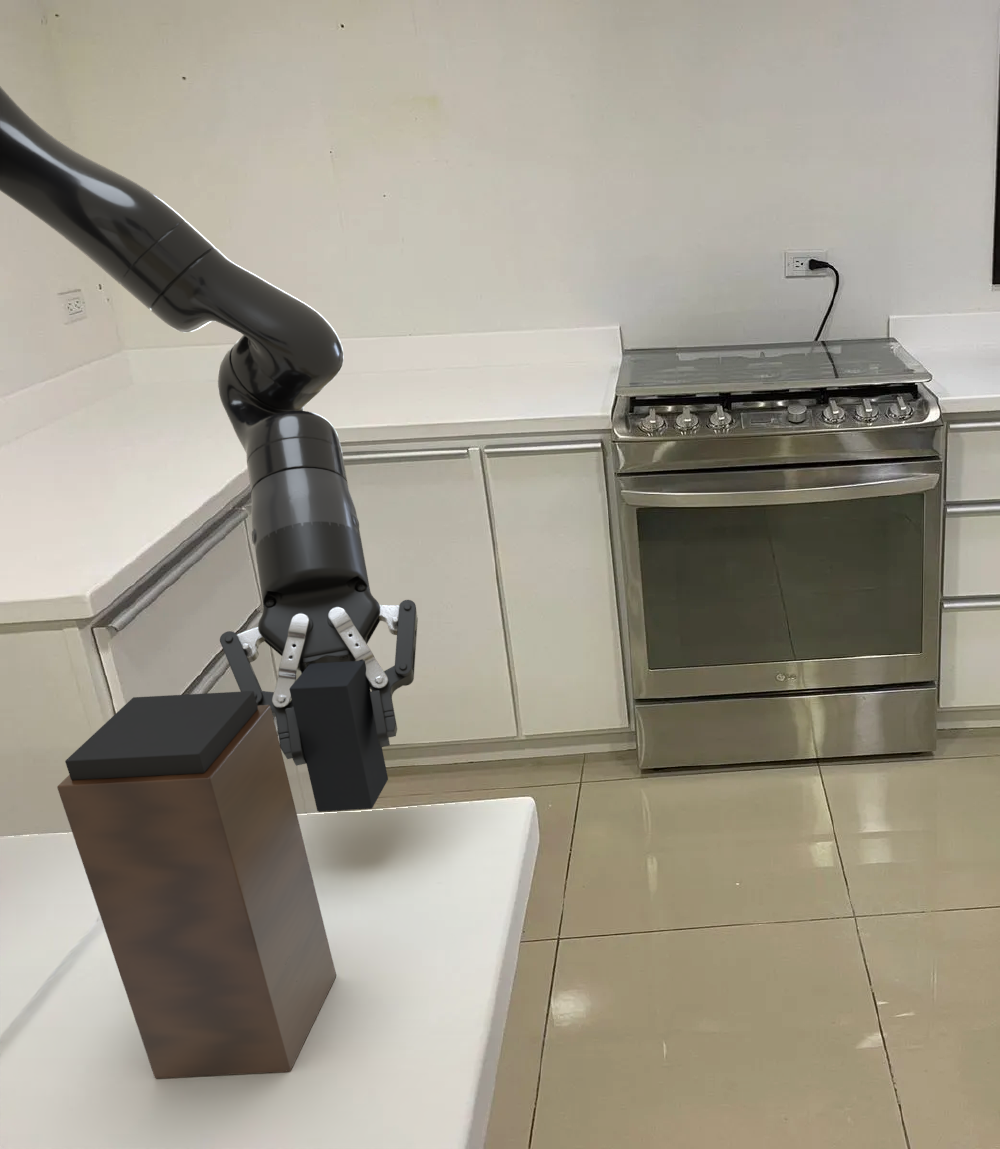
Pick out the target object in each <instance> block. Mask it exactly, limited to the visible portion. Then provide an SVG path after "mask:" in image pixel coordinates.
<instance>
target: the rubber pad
mask: <svg viewBox="0 0 1000 1149" xmlns="http://www.w3.org/2000/svg"><path fill="white" fill-rule="evenodd" d="M257 709H258V706H257V702H256V698H255V694H254V691H243V692H241V691H225V692H208V693H207V692H206V693H190V694H188V693H187V694H171V695H152V696H151V695H150V696H133V697H132V698H131V699H130V700H128V702H126V704H124V705H123V706H122V707H121V708H120V709H119V710H118V711H117V712H116V713H115V714H113V716H111V718H109V719H108V720H107V721H106V722H105V723H104V724H103V725H102V726H101V727H100V728H98V729H97V730H96V731H95V732H94V733H93V734H92V735H91V736H90V737H89V738H88V739H87V740H86V741H85V742H83V743H82V744H81V745H80V747H78V748H77V749H76V750H75V751H74V752H73V753H72V754H71V755H70V756H69V757H68V758H67V759H65V761H64V762H65V766H66V768H67V771H68V776H69V775H70V778H71V780H86V779H105V778H124V777H142V776H161V775H180V774H199V773H205V772H206V770H207V769H208V768H209V767H210V766H211V764H212V763H213V762H214V761H215V760H216V758H217V757H218V756H219V755H220V754H221V752H222V751H223V750H224V749H225V748H226V746H227V745H228V744H229V743H230V742H231V740H232V739H233V738H234V737H235V736H236V735H237V733H238V732H239V731H240V730H241V729H242V727H243V726H244V725H245V724H246V723H247V721H248V720H249V719H250V718H251V717H252V715H253V714H254V713H255V712H256V711H257Z"/></svg>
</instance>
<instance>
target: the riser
mask: <svg viewBox="0 0 1000 1149" xmlns="http://www.w3.org/2000/svg"><path fill="white" fill-rule="evenodd" d="M284 760H285V759H284V756H283V752H282V750H281V748H280V742H279V734H278V730H277V728H276V724H275V720H274V715H272V711H271V707H270V705H259V706H258V709H257V711H256V712H255V713H254V714H253V715H252V717H251V718H250V719H249V720H248V721H247V723H246V724H245V725H244V726H243V727H242V729H241V730H240V731H239V732H238V733H237V735H236V736H235V737H234V738H233V739H232V740H231V742H230V743H229V744H228V745H227V746H226V748H225V749H224V750H223V751H222V752H221V754H220V755H219V756H218V757H217V758H216V760H215V761H214V762H213V763H212V764H211V766H210V767H209V768H208V769H207V770H206V772H205V773H199V774H180V775H161V776H142V777H124V778H105V779H86V780H71V778H70V775H69V774H68V775H67V776H66V777H65V778H64V779H63V780H62V781H61V782H60V783H59V784H57V786H56V788H57V791H58V794H59V797H60V800H61V803H62V806H63V810H64V813H65V815H66V819H67V821H68V824H69V827H70V830H71V833H72V836H73V839H74V841H75V842H74V843H75V846H76V848H77V851H78V854H79V856H80V860H81V863H82V865H83V869H84V871H85V874H86V878H87V880H88V883H89V887H90V889H91V892H92V895H93V898H94V901H95V905H96V907H97V909H98V914H99V917H100V919H101V922H102V926H103V928H104V932H105V935H106V937H107V940H108V943H109V946H110V950H111V952H112V955H113V958H114V961H115V963H116V967H117V970H118V973H119V976H120V979H121V982H122V984H123V985H122V986H123V988H124V990H125V991H124V992H125V993H126V996H127V999H128V1002H129V1005H130V1008H131V1011H132V1015H133V1017H134V1021H135V1023H136V1027H137V1029H138V1032H139V1035H140V1038H141V1041H142V1044H143V1047H144V1050H145V1053H146V1057H147V1059H148V1063H149V1065H150V1068H151V1071H152V1074H153V1077H154V1079H168V1078H187V1077H207V1076H226V1075H227V1076H228V1075H243V1074H245V1075H246V1074H247V1075H248V1074H263V1073H279V1072H280V1073H283V1072H284V1073H285V1072H291V1071H292V1069H293V1067H294V1064H295V1063H296V1060H297V1058H298V1056H299V1054H300V1052H301V1050H302V1048H303V1045H304V1044H305V1042H306V1040H307V1037H308V1035H309V1034H310V1032H311V1029H312V1027H313V1025H314V1023H315V1021H316V1019H317V1017H318V1016H319V1012H320V1010H321V1008H322V1006H323V1004H324V1002H325V1000H326V998H327V996H328V994H329V992H330V989H331V987H332V986H333V984H334V982H335V979H336V977H337V972H336V968H335V964H334V960H333V955H332V952H331V948H330V943H329V939H328V935H327V932H326V927H325V924H324V919H323V915H322V911H321V908H320V907H321V906H320V903H319V898H318V894H317V891H316V890H317V889H316V886H315V883H314V878H313V875H312V870H311V866H310V862H309V858H308V854H307V850H306V845H305V841H304V838H303V834H302V829H301V826H300V821H299V817H298V814H297V810H296V805H295V801H294V797H293V792H292V789H291V785H290V780H289V777H288V773H287V768H286V765H285V761H284Z"/></svg>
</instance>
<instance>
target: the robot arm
mask: <svg viewBox="0 0 1000 1149" xmlns="http://www.w3.org/2000/svg"><path fill="white" fill-rule="evenodd" d="M0 192H1V193H3V194H4V195H5V196H7V197H8V198H9V199H11V200H12V201H14V202H15V203H17V204H18V205H19V206H21V207H23V208H24V209H25V210H27V211H28V212H30V213H31V214H32V215H34V216H35V217H37V219H39V220H40V221H42V222H43V223H44V224H46V225H47V226H49V228H51V229H53V230H54V231H55V232H56V233H58V234H59V235H60V236H62V237H63V238H64V239H65V240H67V241H68V242H69V243H70V244H72V245H73V246H74V247H75V248H76V249H78V250H79V251H80V252H82V253H83V254H84V255H85V256H87V258H89V259H90V260H91V261H92V262H94V263H95V265H96V266H98V267H99V268H101V269H102V270H103V271H104V272H105V273H106V274H107V275H109V276H110V277H111V278H112V279H113V280H114V281H115V282H117V283H118V284H119V285H120V286H121V287H122V288H123V289H125V290H126V291H127V292H128V293H129V294H130V295H132V296H133V297H134V298H136V300H137V301H139V302H140V303H141V304H142V305H143V306H144V307H146V309H148V310H150V311H151V313H153V314H154V315H155V316H156V317H157V318H158V319H160V320H161V321H162V322H163V323H165V324H166V325H167V326H169V327H170V328H172V329H173V330H176V331H178V332H181V333H191V332H195V331H197V330H200V329H201V328H203V327H205V326H206V325H208V324H209V323H213V322H215V323H218V324H221V325H223V326H226V327H227V328H230V329H232V330H234V331H236V332H238V333H240V334H242V336H241V337H240V338H239V339H238V340H237V341H236V342H235V343H234V344H233V345H232V346H231V347H230V348H229V350H227V351H226V353H225V354H224V356H223V358H222V359H221V362H220V363H219V368H218V373H217V374H218V375H217V389H218V390H217V391H218V395H219V399H220V401H221V404H222V408H224V409H223V410H224V411H225V413H226V415H227V417H228V420H229V422H230V424H231V426H232V429H233V431H234V432H235V435H236V437H237V439H238V441H239V442H240V445H241V447H242V448H243V450H244V451H245V455H246V465H247V472H248V479H249V486H250V493H251V511H250V512H251V515H250V516H251V517H250V518H251V519H250V520H251V528H252V530H251V540H252V544H253V546H254V550H255V558H256V566H257V572H258V573H257V574H258V581H259V587H260V594H261V602H262V614H261V617H260V619H259V620H258V623H257V626H254V627H252V628H250V629H247V630H244V631H242V632H239V633H236V632H234V631H229V630H228V631H225V632H223V633H222V634H221V635H220V637H219V643H220V645H221V647H222V650H223V652H224V655H225V657H226V660H227V662H228V665H229V667H230V670H231V671H232V674H233V677H234V679H235V681H236V684H237V686H238V688H239V692H243V691H254V694H255V698H256V702H257V706H259V705H270V707H271V711H272V715H273V717H275V720H276V726H277V728H276V729H277V735H278V740H279V744H280V748H281V752H282V754H283V755H284V757H285V758H286V760H291V759H292V761H293V763H294V766H301V765H307V764H306V758H305V754H304V750H303V745H302V741H301V737H300V732H299V728H298V724H297V720H296V716H295V711H294V707H293V703H292V698H291V694H290V687H291V686H292V685H293V684H294V682H295V681H296V680H297V679H298V677H299V676H300V675H301V674H302V673H303V671H304V670H305V669H306V668H307V666H308V665H309V664H310V663H328V662H348V661H365V665H366V677H367V679H368V681H369V685H370V690H371V692H370V697H371V703H372V709H373V715H374V720H375V726H376V732H377V738H378V742H379V746H380V747H382V748H384V747H389V746H391V743H390V742H391V741H390V738H393V737H394V738H395V737H396V736H397V733H398V725H397V719H396V714H395V708H394V703H393V702H394V701H393V695H394V693H395V692H396V690H398V689H400V688H403V687H406V686H410V685H411V684H412V683H413V682H414V680H415V667H416V651H417V636H418V620H419V618H418V612H417V605H416V603H415V602H414V601H413V600H411V599H405V600H402V601H401V602H399V604H398V605H397V604H380V603H379V602H378V600H377V599H376V598H375V597H374V596H373V594H372V593H371V588H370V581H369V575H368V571H367V570H368V569H367V566H366V560H365V554H364V549H363V542H362V537H361V531H360V522H359V518H358V514H357V511H356V506H355V503H354V500H353V497H352V494H351V492H350V488H349V484H348V478H347V472H346V466H345V460H344V456H343V451H342V446H341V441H340V438H339V435H338V433H337V430H336V429H335V427H334V425H333V424H332V423H331V422H330V421H329V420H328V419H327V418H325V417H323V416H322V415H320V414H318V413H315V412H311V411H308V410H307V411H306V410H304V408H305V406H307V404H309V403H310V402H311V401H312V400H313V399H314V398H315V397H316V396H317V395H318V394H319V393H320V392H321V391H322V390H323V389H324V388H325V387H326V386H327V385H328V384H329V383H331V382H332V381H333V380H334V379H335V378H336V376H337V375H338V374H339V373H340V371H341V370H342V368H343V365H344V358H345V357H344V348H343V345H342V342H341V340H340V337H339V336H338V334H337V332H336V330H335V329H334V328H333V326H332V325H331V323H329V321H328V320H327V319H326V318H325V317H324V316H323V315H322V314H321V313H320V312H318V311H317V310H316V309H314V308H313V307H312V306H310V305H308V303H305V302H304V301H302V300H300V299H298V298H297V297H295V296H293V295H291V294H290V293H288V292H286V291H285V290H283V289H281V288H279V287H277V286H275V285H273V283H270V282H268V281H267V280H265V279H263V278H262V277H260V276H258V275H257V274H255V273H253V272H251V271H249V270H247V269H245V268H243V267H242V266H240V265H238V264H236V263H235V262H233V261H232V260H230V259H229V258H228V257H227V256H225V255H224V254H223V253H222V252H221V251H220V249H218V248H216V247H215V245H214V244H212V243H211V242H210V240H208V239H207V238H206V237H205V236H204V235H203V234H202V233H201V232H199V231H198V229H196V228H195V227H194V226H193V225H192V224H191V223H190V222H188V221H187V220H186V219H185V218H184V217H183V216H182V215H181V214H180V213H178V212H177V211H176V210H175V209H173V208H172V207H171V206H170V205H169V204H168V203H166V202H165V201H164V200H163V199H161V198H160V197H158V196H157V195H156V194H154V193H153V192H151V191H150V190H148V189H147V188H145V187H143V186H142V185H140V184H138V183H137V182H135V181H134V180H131V179H130V178H128V177H126V176H124V175H122V174H120V173H118V172H116V171H113V170H112V169H110V168H108V167H106V166H104V165H102V164H100V163H98V162H96V161H94V160H92V159H91V158H88V157H86V156H84V155H83V154H81V153H80V152H77V151H75V149H74V150H73V148H71V147H69V146H68V145H66V144H65V143H63V142H62V141H60V140H58V139H57V138H56V137H54V136H53V135H51V134H50V132H47V130H45V129H44V128H43V127H41V126H40V125H39V123H37V122H36V121H34V120H33V119H32V118H31V117H30V116H29V115H28V113H26V112H25V111H24V110H23V109H22V108H21V107H20V106H19V105H18V104H17V103H16V102H15V101H14V100H13V98H12V97H10V95H9V94H8V93H7V92H6V91H5V89H4V88H3V87H2V86H1V85H0ZM380 622H384V623H385V624H386V625H387V629H388V632H389V633H390V634H391V635H393V636H396V642H395V654H394V656H395V657H394V665H393V666H391V667H389V668H387V669H385V670H384V669H383V667H382V666H381V664H380V663H379V662H378V661H377V658H375V655H374V653H373V651H372V650H371V648H370V647H369V646H368V644H369V642H370V641H371V640H370V639H371V638H372V636H373V634H374V633H375V631H376V629H377V627H378V626H379V625H380ZM262 643H266V644H267V645H268V647H270V648H272V650H274V651H275V652H276V653H277V654H279V655H280V656H281V659H280V662H279V666H278V671H277V672H278V673H277V674H278V675H277V680H276V683H275V686H274V690H273V691H265V690H263V689H262V687H261V685H260V683H259V680H258V677H257V675H256V674H255V671H254V668H253V666H252V664H251V663H252V662H254V661H256V660H257V659H258V657H259V647H260V645H261V644H262Z"/></svg>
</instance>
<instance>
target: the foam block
mask: <svg viewBox="0 0 1000 1149" xmlns="http://www.w3.org/2000/svg"><path fill="white" fill-rule="evenodd" d="M370 692H371V689H370V685H369V681H368V679H367V677H366V665H365V661H348V662H328V663H310V664H309V665H308V666H307V668H306V669H305V670H304V671H303V673H302V674H301V675H300V676H299V677H298V679H297V680H296V681H295V682H294V684H293V685H292V686H291V687H290V694H291V698H292V703H293V707H294V711H295V716H296V720H297V724H298V728H299V732H300V737H301V741H302V745H303V750H304V754H305V758H306V764H305V765H306V768H307V772H308V776H309V782H310V785H311V790H312V794H313V798H314V802H315V806H316V811H317V812H333V811H355V810H371V809H373V808H374V806H375V805H376V802H377V801H378V798H379V796H380V795H381V794H382V792H383V789H384V788H385V786H386V784H387V782H389V777H388V776H389V775H388V771H387V767H386V761H385V755H384V751H383V747H380V746H379V742H378V738H377V732H376V726H375V720H374V715H373V709H372V703H371V697H370Z"/></svg>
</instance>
